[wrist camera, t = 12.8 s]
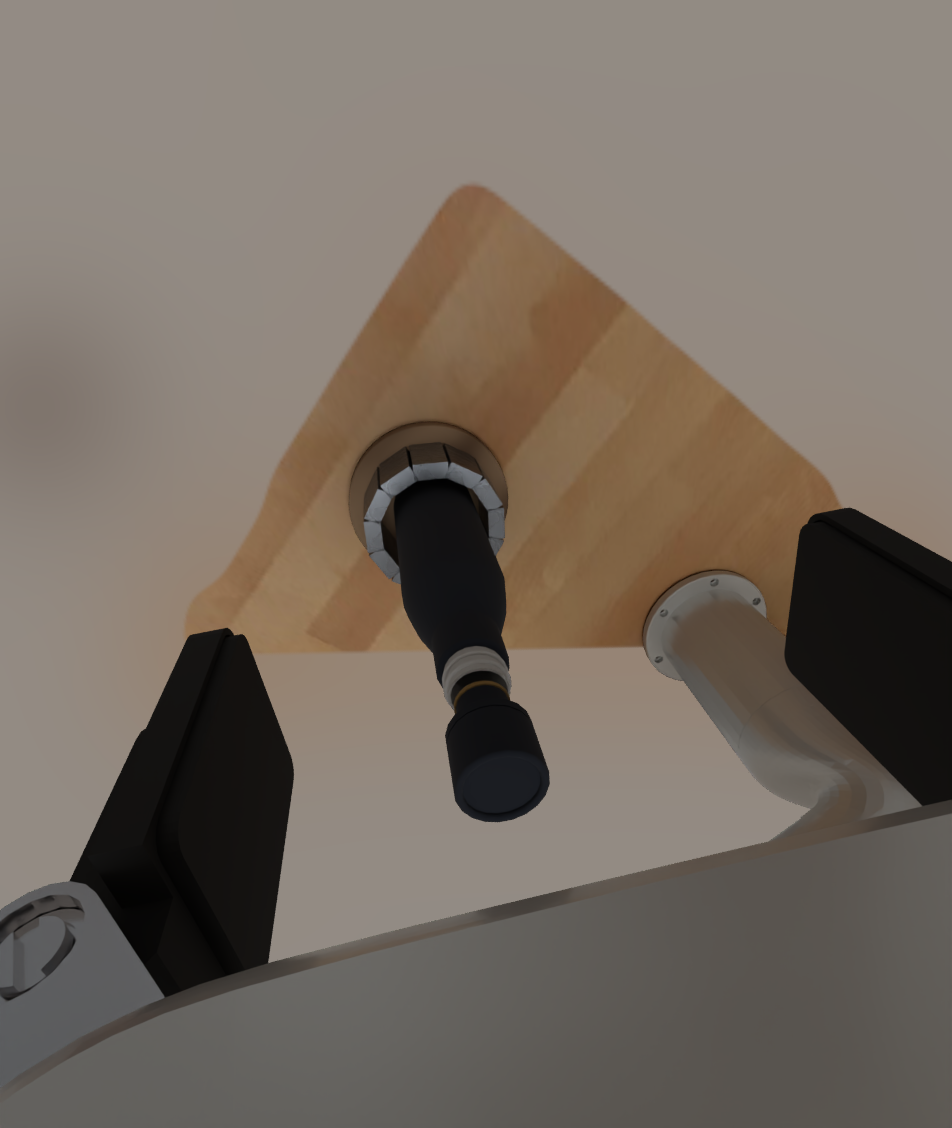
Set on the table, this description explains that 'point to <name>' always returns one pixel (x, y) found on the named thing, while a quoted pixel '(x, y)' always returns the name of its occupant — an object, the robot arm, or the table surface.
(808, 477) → the table surface
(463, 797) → the black tall rounded piece
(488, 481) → the bottle stand
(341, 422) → the table surface
